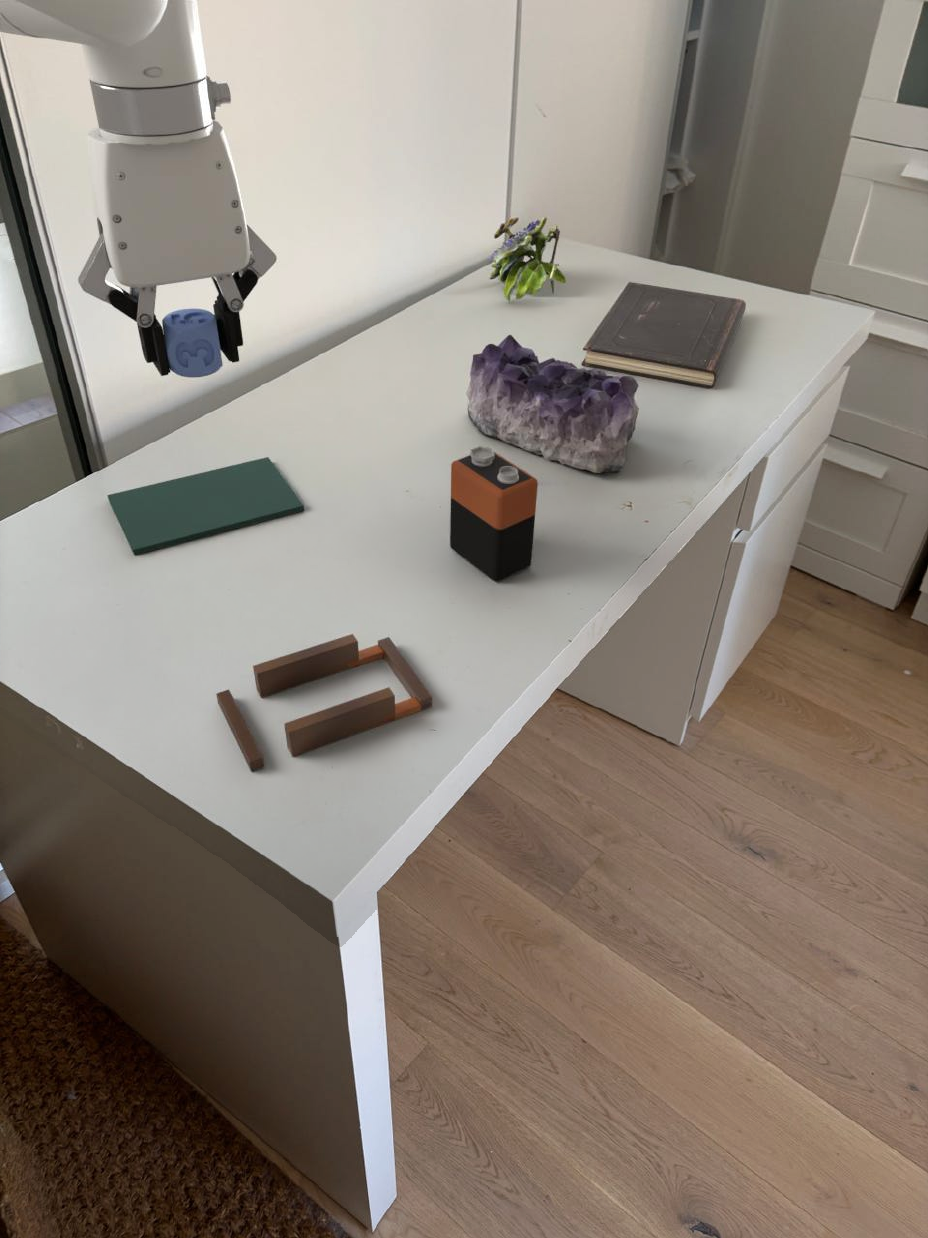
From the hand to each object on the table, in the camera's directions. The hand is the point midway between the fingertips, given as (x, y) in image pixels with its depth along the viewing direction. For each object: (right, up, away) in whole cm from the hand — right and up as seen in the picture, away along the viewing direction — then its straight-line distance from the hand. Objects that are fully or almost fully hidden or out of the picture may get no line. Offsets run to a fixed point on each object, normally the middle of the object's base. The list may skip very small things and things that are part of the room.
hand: (195, 359), depth 76 cm
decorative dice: (0, -1, +1) cm, 1 cm away
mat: (-3, -10, +15) cm, 18 cm away
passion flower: (+30, +26, +59) cm, 71 cm away
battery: (+24, -15, +10) cm, 30 cm away
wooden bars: (+11, -27, -5) cm, 29 cm away
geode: (+30, -1, +27) cm, 40 cm away
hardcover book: (+47, +15, +47) cm, 68 cm away
